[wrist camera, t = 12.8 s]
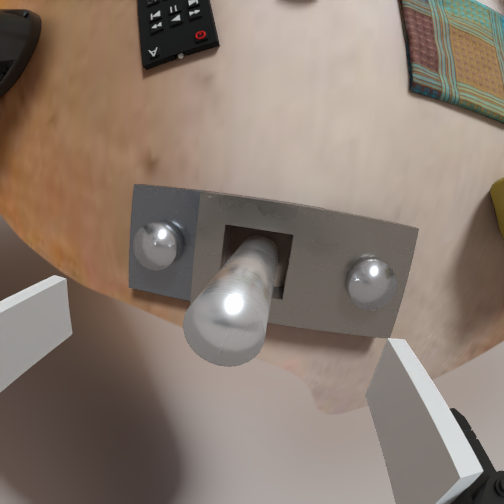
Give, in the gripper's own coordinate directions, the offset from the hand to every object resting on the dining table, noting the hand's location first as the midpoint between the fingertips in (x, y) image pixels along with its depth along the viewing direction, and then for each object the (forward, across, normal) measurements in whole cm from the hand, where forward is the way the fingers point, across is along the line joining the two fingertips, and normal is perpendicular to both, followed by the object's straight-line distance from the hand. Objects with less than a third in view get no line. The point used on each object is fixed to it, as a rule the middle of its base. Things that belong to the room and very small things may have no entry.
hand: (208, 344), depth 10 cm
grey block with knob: (+17, +4, -1) cm, 17 cm away
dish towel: (+18, +23, +26) cm, 39 cm away
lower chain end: (+17, -3, -1) cm, 17 cm away
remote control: (+18, -15, +32) cm, 40 cm away
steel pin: (+17, 0, 0) cm, 17 cm away
